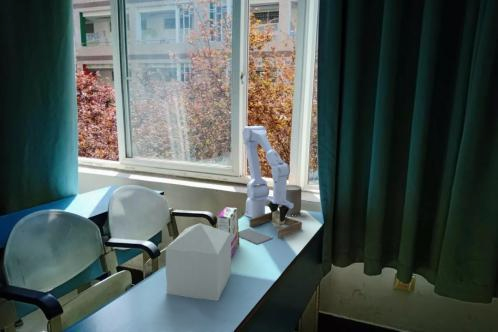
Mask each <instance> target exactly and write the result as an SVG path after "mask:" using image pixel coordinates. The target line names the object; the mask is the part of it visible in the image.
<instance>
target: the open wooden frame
mask: <svg viewBox="0 0 498 332" xmlns="http://www.w3.org/2000/svg"><path fill="white" fill-rule="evenodd" d="M269 220H270V221H272V213H271V211H270V212H267V213H265V214H264V215H261V216H258V217H255V218H249V226H250V228H253V227H255V226H258V225H261V224H264V223H267V222H269ZM266 221H267V222H266ZM282 225H286V226H285V227H283V228H279V229H278V231H277V238H278V239H282V238H285V237H287V236H289V235H291V234H293V233H296V232H299V231H302V230H303V229H302V228H303V222H302V221H301V220H297V219H294V218H291V217H290V216H286V217H285V223H283V224H282Z"/></svg>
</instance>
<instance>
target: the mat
mask: <svg viewBox="0 0 498 332" xmlns="http://www.w3.org/2000/svg"><path fill="white" fill-rule="evenodd" d="M238 232H239V238H241V239H243V240H246V241H248V242H250V243H251V244H254V245H260V244H263V243H265V242H267V241H270V240H272V239H273V237H271V236H268V235H266V234H263V233H262V232H259V231H257V230H254V229H252V228H246V229H243V230H240V231H239V230H238Z"/></svg>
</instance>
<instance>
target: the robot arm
mask: <svg viewBox="0 0 498 332" xmlns="http://www.w3.org/2000/svg"><path fill="white" fill-rule="evenodd" d="M267 133H268V131H267V130H266V128H265V126H263V125H251V126H250V125H249V126H248V125H246V126H245V127H244V128H243V129H242V140H243V144H244V145H245V152H246V158H247V162H248V163H247V164H248V169H249V175H250V181H249V182H247V184H246V195H247V198H246V201H245V213H244V214H243V215H244V216H247V217H248V218H250V219H252V218H255V217H258V216H261V215H264V214H266V202H269V203H268V204H267V205H268V208H269V210H270V212H271V213H273V212H274V211H278V210H279V211H280V222H283V221H284V220H285V217H287V216H286V214H287V212H288V210H289V209H291V208H293V203H291V202H289V201H287V200H286V185H288V184H287V183H288V180H287V179H288V177H289V175H290V173H291V167H290V166H289V164H288V163H286V162H285V161H283V160H282V158H281V156H280V154H279V153H278V151H277V150H275V149H273V147H272V145H271V143H270V141H269V139H268V137H267ZM258 145H260V147H261V148H262V150H263V152H265V159H266V161H267V163H268V164H269V166H270V168H271V176H272V181H273V186H272V187H273V189H272V194H273V195H272V196H269V195H270V188H269V186H268V182H267V180H265V179H264V178H263V177H262V172H261V166H260V159H259V154H258V153H259V152H258V148H257V147H258Z"/></svg>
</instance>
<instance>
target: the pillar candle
mask: <svg viewBox="0 0 498 332" xmlns="http://www.w3.org/2000/svg"><path fill="white" fill-rule="evenodd" d="M286 200H287V201H289V202H291V203H293V208H291V209H289V210H288V212H287V214H286V215H290V216H289V217H298V216H300V215H301V214H302V213H301V210H302V186H300V185H297V184H296V185H295V184H287V185H286ZM292 215H293V216H292ZM295 215H296V216H295ZM297 215H298V216H297Z"/></svg>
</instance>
